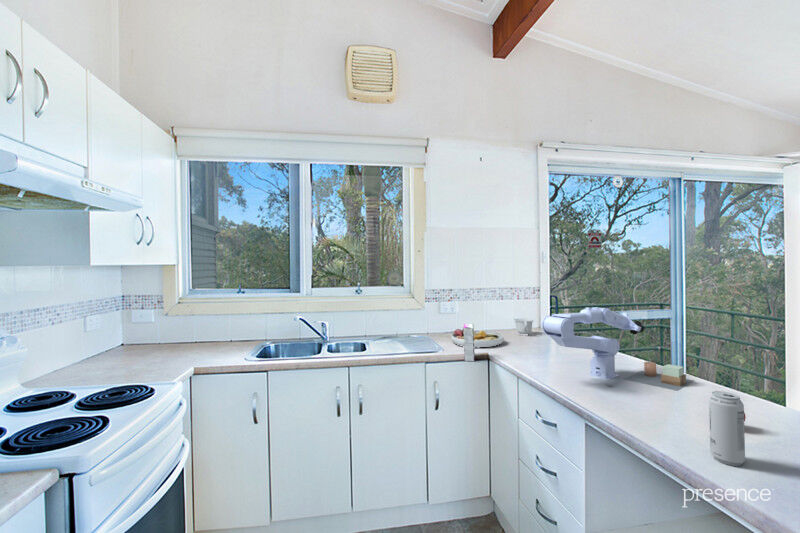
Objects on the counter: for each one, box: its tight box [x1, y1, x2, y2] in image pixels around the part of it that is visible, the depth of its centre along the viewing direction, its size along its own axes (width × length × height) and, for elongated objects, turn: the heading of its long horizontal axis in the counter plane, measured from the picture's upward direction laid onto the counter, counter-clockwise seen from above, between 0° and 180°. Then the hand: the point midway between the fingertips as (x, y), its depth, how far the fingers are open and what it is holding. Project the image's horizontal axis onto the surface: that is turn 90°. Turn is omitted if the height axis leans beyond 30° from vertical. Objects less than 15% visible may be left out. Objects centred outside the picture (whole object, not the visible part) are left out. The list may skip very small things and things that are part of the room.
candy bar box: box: [462, 323, 476, 362], centre depth 183 cm, size 11×5×16 cm, turn 168°
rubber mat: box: [622, 370, 695, 392], centre depth 142 cm, size 18×18×1 cm
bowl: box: [450, 328, 504, 348], centre depth 219 cm, size 30×30×8 cm
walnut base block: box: [660, 373, 687, 386], centre depth 138 cm, size 6×6×3 cm
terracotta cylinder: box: [643, 361, 658, 377], centre depth 148 cm, size 4×4×5 cm
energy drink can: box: [708, 390, 746, 467], centre depth 85 cm, size 6×6×15 cm
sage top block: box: [662, 363, 685, 378], centre depth 138 cm, size 5×5×3 cm
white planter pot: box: [513, 317, 534, 335], centre depth 239 cm, size 12×15×10 cm
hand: (634, 325), depth 160 cm, fingers open, 7 cm apart
